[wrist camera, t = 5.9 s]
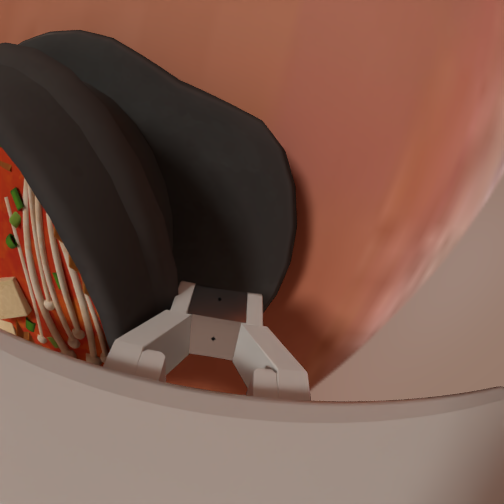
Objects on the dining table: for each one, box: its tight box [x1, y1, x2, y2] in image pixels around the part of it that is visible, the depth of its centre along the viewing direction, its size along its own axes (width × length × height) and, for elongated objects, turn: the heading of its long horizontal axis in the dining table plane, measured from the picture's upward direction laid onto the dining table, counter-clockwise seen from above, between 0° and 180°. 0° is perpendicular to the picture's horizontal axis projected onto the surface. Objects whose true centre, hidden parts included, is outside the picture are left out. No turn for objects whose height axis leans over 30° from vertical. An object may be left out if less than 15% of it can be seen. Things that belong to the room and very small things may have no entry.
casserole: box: [0, 30, 297, 367], centre depth 10 cm, size 25×19×8 cm
